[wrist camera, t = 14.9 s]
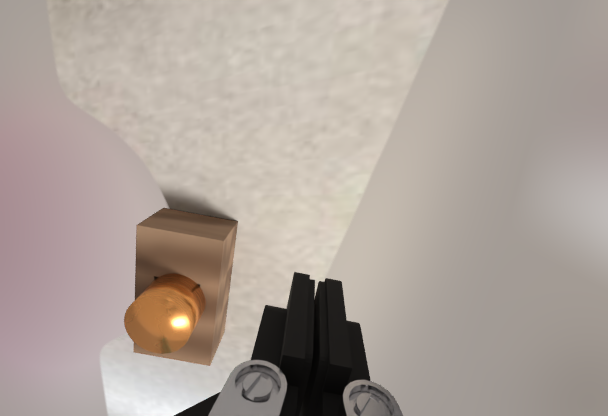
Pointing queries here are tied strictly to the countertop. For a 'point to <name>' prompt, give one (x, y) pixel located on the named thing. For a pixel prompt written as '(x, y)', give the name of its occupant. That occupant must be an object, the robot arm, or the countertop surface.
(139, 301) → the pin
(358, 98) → the countertop surface
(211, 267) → the block
